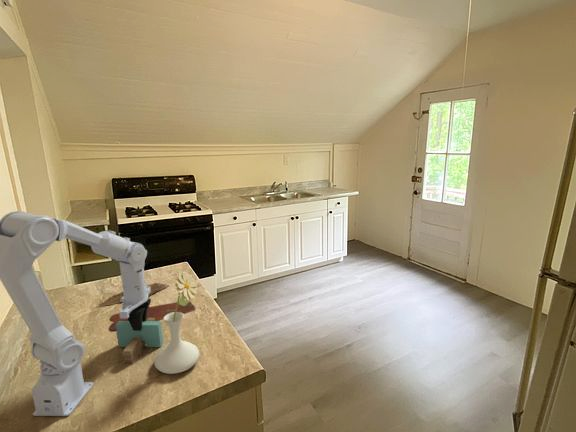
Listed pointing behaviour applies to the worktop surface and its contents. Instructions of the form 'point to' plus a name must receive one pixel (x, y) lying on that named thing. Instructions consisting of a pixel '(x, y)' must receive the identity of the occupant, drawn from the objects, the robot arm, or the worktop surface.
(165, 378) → the worktop surface
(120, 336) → the teal arch block
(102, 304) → the wooden fragment
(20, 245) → the robot arm
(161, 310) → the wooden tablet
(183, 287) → the flower in vase
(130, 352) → the brown wooden bar
